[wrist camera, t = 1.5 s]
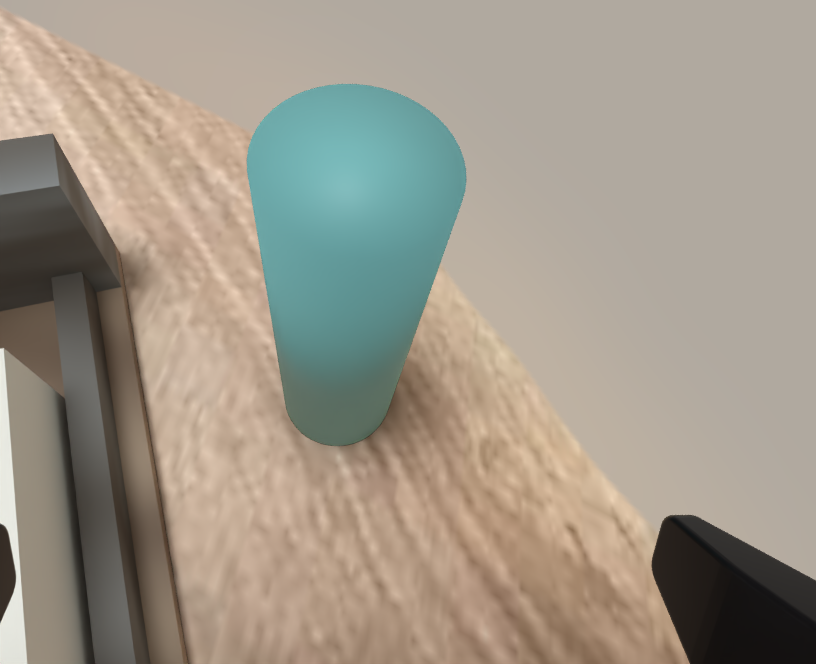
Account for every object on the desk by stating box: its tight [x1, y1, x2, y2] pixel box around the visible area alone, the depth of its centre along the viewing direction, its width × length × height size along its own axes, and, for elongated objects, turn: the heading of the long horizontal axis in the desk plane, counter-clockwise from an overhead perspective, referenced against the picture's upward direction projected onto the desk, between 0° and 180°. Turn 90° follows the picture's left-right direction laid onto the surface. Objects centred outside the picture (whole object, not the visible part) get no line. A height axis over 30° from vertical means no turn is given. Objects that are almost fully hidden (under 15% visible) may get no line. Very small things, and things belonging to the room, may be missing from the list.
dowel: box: [247, 84, 466, 446], centre depth 17 cm, size 4×4×13 cm
